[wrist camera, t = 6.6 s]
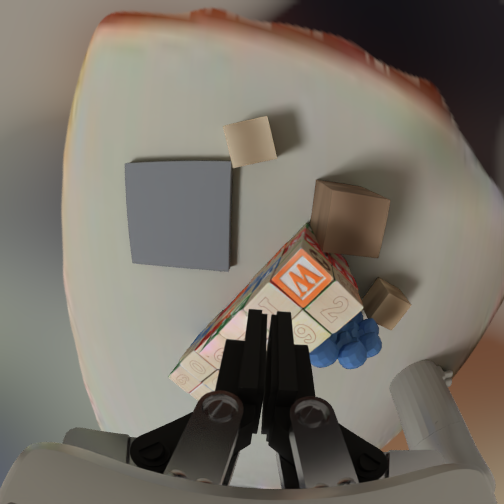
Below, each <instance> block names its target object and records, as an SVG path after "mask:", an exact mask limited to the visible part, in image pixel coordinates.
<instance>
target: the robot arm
mask: <svg viewBox="0 0 504 504" xmlns="http://www.w3.org/2000/svg"><path fill="white" fill-rule="evenodd" d="M266 345H267V351H266ZM452 375H453V372H452V370H448V371H445V372H444V371H443V370H442V368H441V366H436V365H435V363H434V362H432V361H429V360H423V361H419V362H416V363H413V364H411V365H409V366H408V367H406V368H405V369H403V370H402V371H401V372H400V373H398V374H397V375H396V376H395V378H394V379H393V380H392V382H391V384H390V392H391V395H392V398H393V401H394V404H395V407H396V410H397V412H398V415H399V418H400V422H401V425H402V428H403V431H404V434H405V437H406V440H407V444H408V447H409V450H390V451H389V452H382V451H381V450H380V449H378V448H377V447H375V446H373V445H372V444H370V443H368V442H367V441H365V440H364V439H362V438H360V437H359V436H357V435H356V434H354V433H353V432H351V431H349V430H348V429H346V428H345V427H343V426H342V425H340V424H339V423H338V420H337V418H336V415H335V412H334V410H333V408H332V406H331V405H330V404H329V403H328V402H327V401H325V400H324V399H322V398H318V397H315V390H314V382H313V375H312V368H311V361H310V354H309V348H308V345H297V344H294V337H293V327H292V317H291V312H282V311H277V314H276V315H274V314H272V315H271V322H270V329H269V337H268V344H267V314H262V310H257V309H249V311H248V319H247V326H246V334H245V341H243V340H233V339H226V342H225V346H224V351H223V356H222V360H221V365H220V369H219V374H218V379H217V383H216V388H215V391H212V392H209V393H206V394H205V395H203V396H202V397H201V398H200V399H199V401H198V403H197V405H196V407H195V409H194V411H193V412H191V413H189V414H187V415H185V416H183V417H181V418H179V419H177V420H175V421H173V422H171V423H168V424H166V425H164V426H162V427H159V428H157V429H155V430H153V431H150V432H148V433H145V434H143V435H141V436H139V437H137V438H136V437H129V435H127V434H118V433H111V432H104V431H97V430H92V429H86V428H73V429H70V430H69V431H68V432H67V433H66V435H65V437H64V440H63V444H61V443H53V442H40V443H34V444H32V445H30V446H28V447H27V448H26V449H25V450H23V452H22V453H21V454H20V455H19V456H18V458H17V459H16V461H15V462H14V464H13V465H12V467H11V468H10V470H9V472H8V474H7V476H6V478H5V480H4V482H3V484H2V486H1V488H0V504H497V502H496V498H495V495H494V491H495V480H494V477H493V474H492V472H491V470H490V469H489V467H488V466H487V464H486V462H485V461H484V459H483V458H482V456H481V454H480V452H479V451H478V449H477V447H476V445H475V443H474V441H473V439H472V437H471V435H470V432H469V430H468V428H467V426H466V424H465V422H464V420H463V417H462V415H461V413H460V411H459V409H458V407H457V405H456V403H455V401H454V399H453V397H452V395H451V393H450V391H449V389H448V386H450V385H451V384H452V379H451V378H450V377H451V376H452ZM262 403H263V410H262V429H261V434H267V438H266V441H267V442H269V446H270V447H271V448H273V449H274V450H275V451H276V459H277V465H278V471H279V477H280V483H281V488H282V489H257V488H242V487H232V486H229V485H230V482H231V479H232V476H233V473H234V469H235V466H236V463H237V460H238V457H239V454H240V450H242V449H243V448H245V447H247V446H248V445H250V444H251V437H252V433H254V434H257V430H258V425H259V419H260V414H261V408H262Z"/></svg>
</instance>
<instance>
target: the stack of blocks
mask: <svg viewBox="0 0 504 504" xmlns="http://www.w3.org/2000/svg"><path fill="white" fill-rule="evenodd" d="M358 290H359V289H358V286H357V284H356V281H355V279H354V277H353V276H352V274H351V271H350V269H349V266H348V264H347V261H346V260H345V259H344V258H343V257H342V256H341V255H340V254H337V253H328V252H322V249H321V247H320V245H319V243H318V241H317V239H316V237H315V235H314V233H313V231H312V229H311V227H310V225H308V224H307V223H306V224H305V225H304V226H303V227H302V228H301V229H300V230H299V231H298V232H297V233H296V235H295V236H294V237H293V238H292V239H291V240H290V241H289V242H287V243H286V244H285V245H284V246H283V247H282V248H281V249H280V250H279V251H278V252H277V253H276V255H275V256H274V257H273V258H272V259H271V260H270V261H269V262H268V263H267V264H266V265H265V266H264V267H263V268H262V269H261V270H260V271H259V272H258V273H257V274H256V275H255V276H254V277H253V279H252V280H251V282H250V283H249V284H248V285H247V286H246V287H245V288H244V289H243V290H242V291H241V292H240V293H239V294H238V296H237V297H236V298H235V299H234V300H233V301H232V302H231V303H230V304H229V306H228V307H227V308H226V309H225V310H224V311H223V312H220V313H219V314H218V315H217V316H216V317H215V318H214V319H213V320H212V321H211V322H210V323H209V324H208V326H207V327H206V328H205V329H204V330H203V331H202V332H201V333H200V334H199V335H198V336H197V338H196V339H195V340H194V342H193V343H192V344H191V346H190V347H189V348H188V349H187V351H186V352H185V353H184V355H183V356H182V357H181V359H180V360H179V363H178V364H177V366H176V367H175V368H174V370H173V371H172V372H171V374H170V375H169V376H168V377H169V378H170V379H171V380H172V381H173V382H175V383H176V384H177V385H178V386H180V387H181V388H182V389H183V390H184V391H186V392H187V393H189V394H190V395H192V396H193V397H194V398H195V399H197V400H198V401H199V399H200V398H201V397H202V396H203V395H205V394H206V393H209V392H212V391H215V388H216V383H217V379H218V374H219V369H220V365H221V360H222V356H223V351H224V346H225V342H226V339H233V340H243V341H245V334H246V326H247V319H248V311H249V309H257V310H262V314H267V344H268V337H269V329H270V322H271V315H272V314H274V315H276V314H277V311H282V312H291V317H292V327H293V337H294V344H297V345H308V348H309V353H310V352H311V351H313V350H314V349H315V348H316V347H318V346H319V345H320V344H321V343H323V342H324V341H325V340H326V339H327V338H329V337H330V336H331V334H333V333H336V332H337V331H338V330H339V329H340V328H342V327H343V326H344V325H345V324H346V323H348V322H349V321H350V320H351V319H352V318H353V317H355V316H356V315H357V314H358V313H359V312H360V311H361V310H362V309H363V307H364V306H363V304H362V301H361V298H360V296H359V293H358ZM266 351H267V345H266Z"/></svg>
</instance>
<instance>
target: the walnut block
mask: <svg viewBox="0 0 504 504" xmlns="http://www.w3.org/2000/svg"><path fill="white" fill-rule="evenodd" d="M389 206H390V200H389V199H387V198H385V197H383V196H380V195H378V194H376V193H374V192H372V191H369V190H367V189H365V188H363V187H360V186H354V185H348V184H342V183H336V182H329V181H322V180H316V185H315V193H314V200H313V208H312V215H311V222H310V227H311V229H312V231H313V233H314V235H315V237H316V239H317V241H318V243H319V245H320V247H321V249H322V252H328V253H337V254H346V255H355V256H364V257H373V258H378V257H379V253H380V249H381V244H382V240H383V235H384V231H385V226H386V221H387V216H388V211H389Z"/></svg>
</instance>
